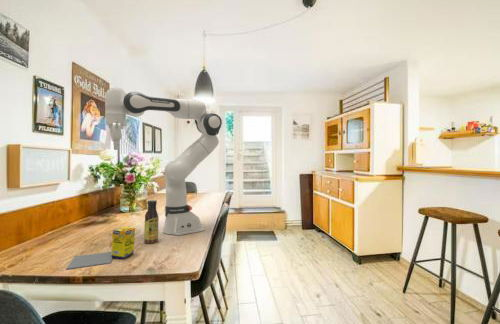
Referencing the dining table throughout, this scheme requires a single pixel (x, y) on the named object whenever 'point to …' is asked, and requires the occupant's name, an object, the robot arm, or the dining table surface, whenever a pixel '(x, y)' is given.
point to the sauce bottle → (151, 223)
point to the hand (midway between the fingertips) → (116, 149)
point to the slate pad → (90, 260)
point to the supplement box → (123, 242)
